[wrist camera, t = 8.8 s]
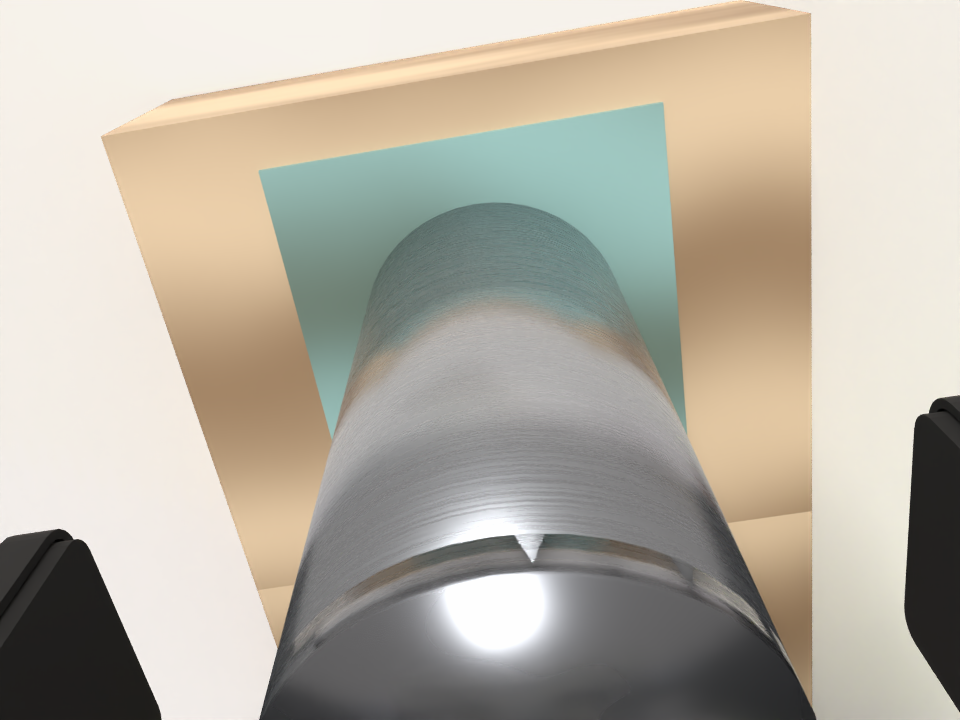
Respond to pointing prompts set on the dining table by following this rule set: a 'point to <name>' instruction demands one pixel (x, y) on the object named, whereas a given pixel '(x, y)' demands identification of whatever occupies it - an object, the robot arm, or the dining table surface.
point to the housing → (501, 179)
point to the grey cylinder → (517, 508)
